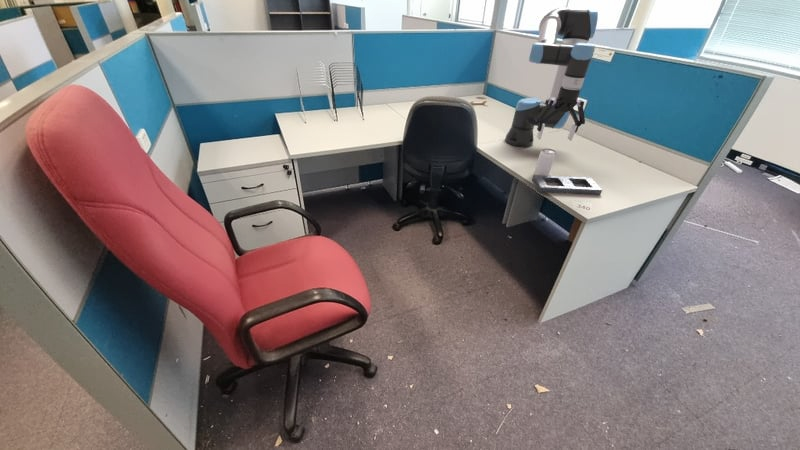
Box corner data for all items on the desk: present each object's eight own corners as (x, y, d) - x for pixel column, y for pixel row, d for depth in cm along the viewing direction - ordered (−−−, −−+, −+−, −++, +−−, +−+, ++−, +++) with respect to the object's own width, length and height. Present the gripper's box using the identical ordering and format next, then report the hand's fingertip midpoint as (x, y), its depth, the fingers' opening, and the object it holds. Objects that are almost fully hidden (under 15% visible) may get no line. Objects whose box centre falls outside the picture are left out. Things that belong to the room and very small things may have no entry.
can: (545, 179, 150) (553, 155, 143) (531, 174, 154) (538, 150, 147) (550, 175, 154) (558, 150, 147) (537, 170, 158) (544, 146, 151)
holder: (531, 179, 150) (533, 175, 148) (588, 182, 149) (591, 177, 148) (539, 192, 141) (540, 187, 139) (600, 195, 141) (602, 189, 139)
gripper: (542, 88, 128) (528, 141, 140) (606, 91, 128) (586, 143, 140) (536, 84, 134) (523, 134, 146) (597, 86, 134) (578, 136, 147)
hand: (554, 138), depth 143 cm, fingers open, 13 cm apart
